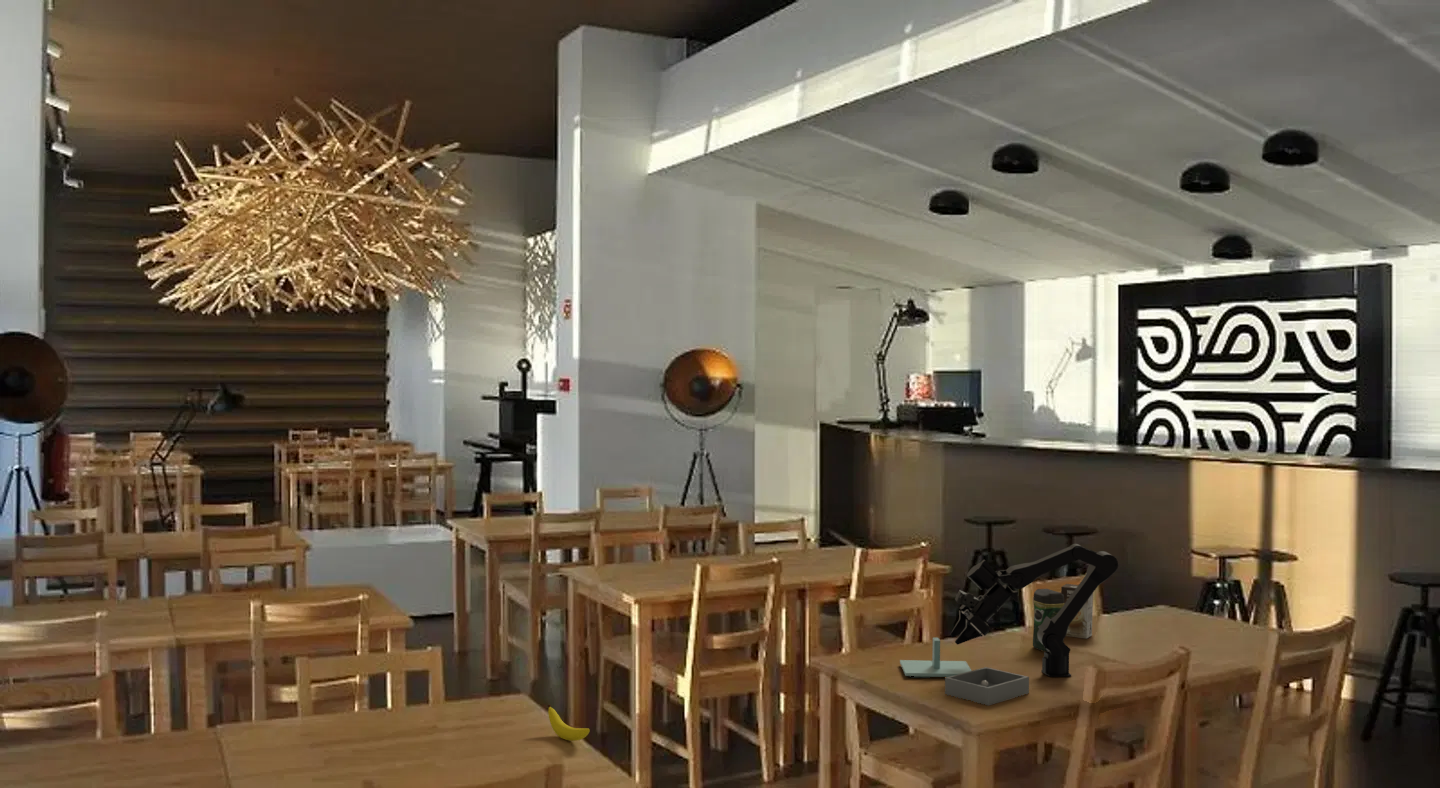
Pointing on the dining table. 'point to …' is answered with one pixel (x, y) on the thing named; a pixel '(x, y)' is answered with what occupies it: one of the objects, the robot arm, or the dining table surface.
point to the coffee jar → (1045, 610)
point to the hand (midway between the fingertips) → (953, 639)
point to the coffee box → (1079, 615)
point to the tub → (987, 685)
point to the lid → (934, 665)
